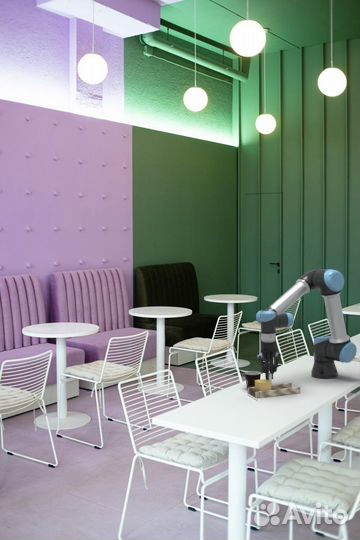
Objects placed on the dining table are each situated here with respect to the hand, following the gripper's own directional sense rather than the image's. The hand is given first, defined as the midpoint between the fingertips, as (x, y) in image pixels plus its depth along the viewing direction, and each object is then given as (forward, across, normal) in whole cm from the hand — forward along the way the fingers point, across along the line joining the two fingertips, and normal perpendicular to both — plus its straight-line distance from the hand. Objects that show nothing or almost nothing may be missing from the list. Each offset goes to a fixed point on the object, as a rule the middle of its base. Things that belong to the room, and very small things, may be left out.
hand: (269, 385), depth 323 cm
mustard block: (+4, -4, 0) cm, 6 cm away
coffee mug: (+6, -3, +14) cm, 15 cm away
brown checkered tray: (+5, +2, 0) cm, 6 cm away
